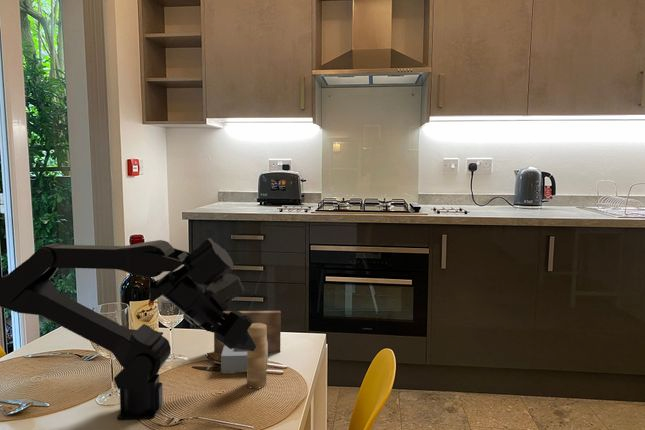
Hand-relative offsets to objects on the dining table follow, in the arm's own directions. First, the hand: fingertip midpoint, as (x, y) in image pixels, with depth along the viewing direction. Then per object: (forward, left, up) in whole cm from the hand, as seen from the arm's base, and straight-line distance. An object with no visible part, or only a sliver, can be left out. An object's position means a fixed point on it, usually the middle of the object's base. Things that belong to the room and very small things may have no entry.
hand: (242, 341), depth 93 cm
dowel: (+3, +2, -10) cm, 11 cm away
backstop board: (0, +20, -10) cm, 22 cm away
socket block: (0, +13, -10) cm, 16 cm away
